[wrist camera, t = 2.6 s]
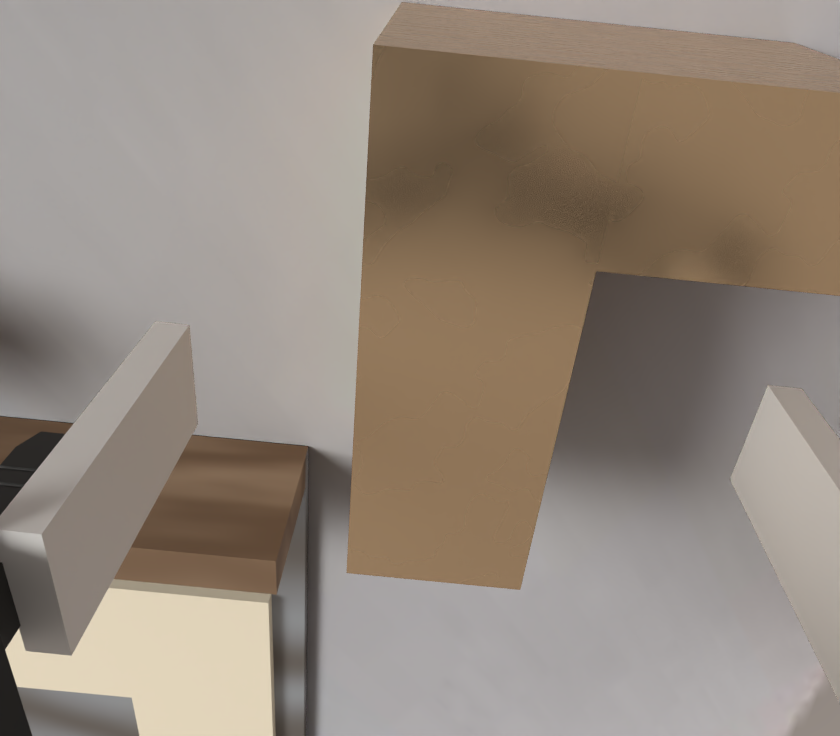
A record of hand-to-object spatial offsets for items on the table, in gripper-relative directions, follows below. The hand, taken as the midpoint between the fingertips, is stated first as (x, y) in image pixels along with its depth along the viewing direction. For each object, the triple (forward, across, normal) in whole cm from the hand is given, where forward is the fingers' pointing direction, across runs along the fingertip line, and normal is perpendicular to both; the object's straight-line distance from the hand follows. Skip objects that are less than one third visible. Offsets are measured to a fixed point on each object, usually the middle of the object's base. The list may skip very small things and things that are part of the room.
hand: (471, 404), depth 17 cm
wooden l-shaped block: (+9, +3, +1) cm, 9 cm away
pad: (+8, -15, -24) cm, 29 cm away
